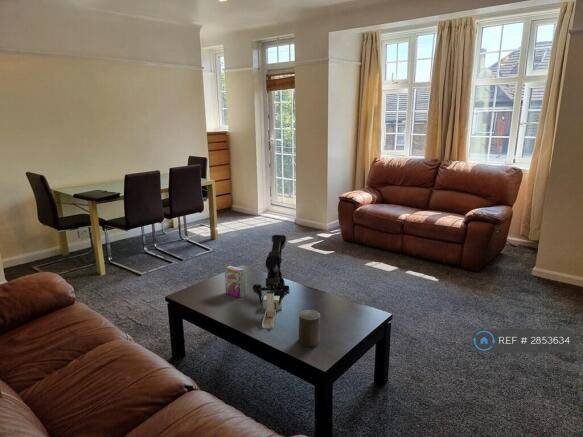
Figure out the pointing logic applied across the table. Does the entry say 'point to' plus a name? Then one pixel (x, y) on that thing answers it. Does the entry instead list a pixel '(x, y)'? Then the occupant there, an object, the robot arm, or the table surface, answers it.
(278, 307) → the socket block
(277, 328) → the table surface
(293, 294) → the table surface
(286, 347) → the table surface
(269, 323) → the u-shaped channel
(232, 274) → the candy bar box
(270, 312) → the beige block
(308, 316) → the pillar candle
